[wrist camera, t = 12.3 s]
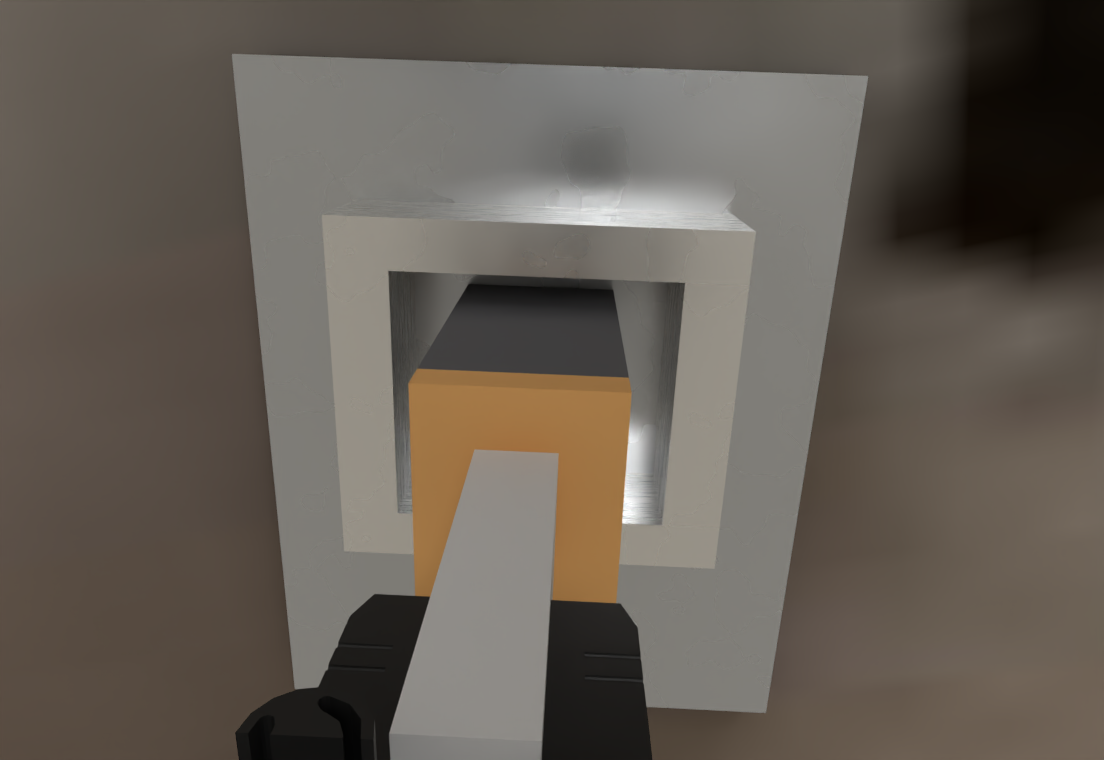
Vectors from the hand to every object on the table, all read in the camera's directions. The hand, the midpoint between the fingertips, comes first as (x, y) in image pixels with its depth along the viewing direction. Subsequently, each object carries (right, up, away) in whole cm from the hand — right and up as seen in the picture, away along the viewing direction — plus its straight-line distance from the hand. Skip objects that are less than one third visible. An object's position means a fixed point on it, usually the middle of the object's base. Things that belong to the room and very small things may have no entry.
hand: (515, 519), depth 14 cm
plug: (0, +3, +8) cm, 9 cm away
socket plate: (0, +1, +10) cm, 10 cm away
